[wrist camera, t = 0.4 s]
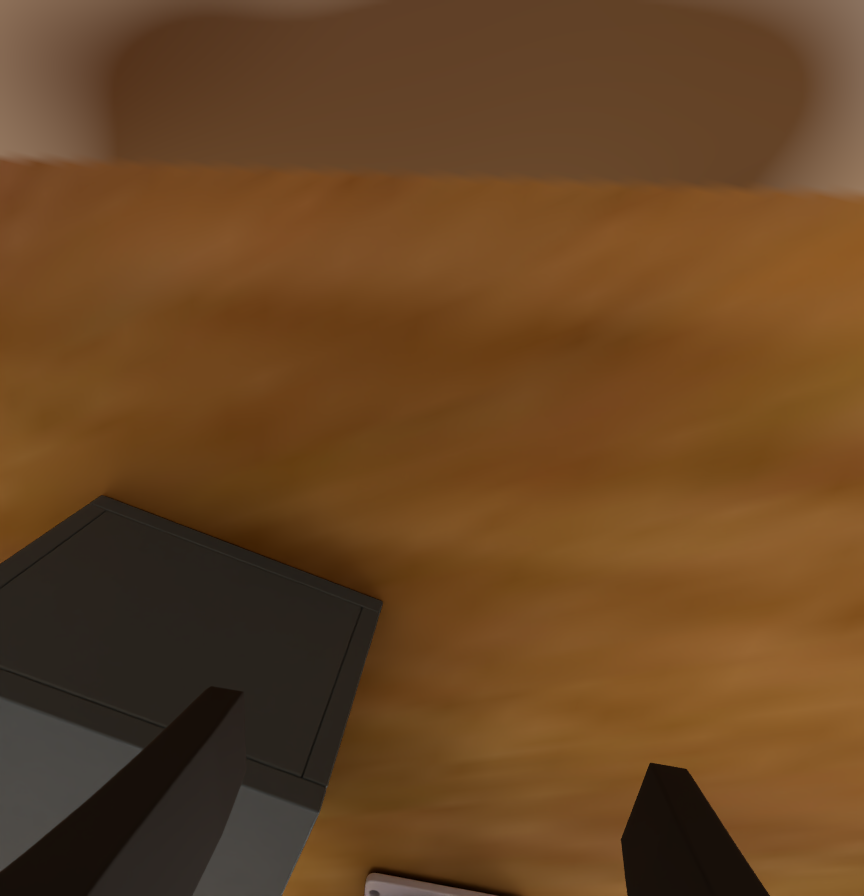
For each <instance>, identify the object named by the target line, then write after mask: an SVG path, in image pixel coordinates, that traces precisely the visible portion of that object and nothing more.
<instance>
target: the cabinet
mask: <svg viewBox="0 0 864 896" xmlns="http://www.w3.org/2000/svg"><path fill="white" fill-rule="evenodd" d="M382 605H383V602H382V601H380V600H377V599H375V598H372V597H369V596H367V595H364V594H362V593H359V592H356V591H354V590H351V589H348V588H346V587H343V586H340V585H338V584H335V583H333V582H330V581H327V580H325V579H322V578H319V577H317V576H314V575H311V574H309V573H306V572H304V571H301V570H298V569H296V568H293V567H290V566H288V565H285V564H282V563H280V562H277V561H275V560H272V559H269V558H267V557H264V556H261V555H259V554H256V553H254V552H251V551H248V550H246V549H243V548H240V547H238V546H235V545H232V544H230V543H227V542H225V541H222V540H219V539H217V538H214V537H211V536H209V535H206V534H203V533H201V532H198V531H196V530H193V529H190V528H188V527H185V526H182V525H180V524H177V523H174V522H172V521H169V520H167V519H164V518H161V517H159V516H156V515H153V514H151V513H148V512H145V511H143V510H140V509H138V508H135V507H132V506H130V505H127V504H124V503H122V502H119V501H116V500H114V499H111V498H109V497H106V496H103V495H101V496H99V497H98V498H96V499H95V500H94V501H92V502H91V503H90V504H88V505H86V506H85V507H83V508H82V509H80V510H79V511H77V512H76V513H74V514H73V515H71V516H70V517H69V518H67V519H66V520H64V521H63V522H61V523H60V524H58V525H57V526H55V527H54V528H52V529H51V530H49V531H48V532H46V533H45V534H44V535H42V536H41V537H39V538H38V539H36V540H35V541H33V542H32V543H30V544H29V545H27V546H26V547H24V548H23V549H22V550H20V551H19V552H17V553H16V554H14V555H13V556H11V557H10V558H8V559H7V560H5V561H4V562H2V563H1V564H0V872H1V871H2V870H3V869H4V868H6V867H7V866H8V865H9V864H11V863H12V862H13V861H14V860H16V859H17V858H18V857H19V856H21V855H22V854H23V853H24V852H26V851H27V850H28V849H29V848H31V847H32V846H33V845H34V844H35V843H37V842H38V841H39V840H40V839H41V838H42V837H44V836H45V835H46V834H47V833H48V832H50V831H51V830H52V829H53V828H54V827H56V826H57V825H58V824H59V823H60V822H62V821H63V820H64V819H65V818H66V817H68V816H69V815H70V814H71V813H72V812H74V811H75V810H76V809H77V808H78V807H79V806H81V805H82V804H83V803H84V802H85V801H86V800H88V799H89V798H90V797H91V796H92V795H93V794H94V793H96V792H97V791H98V790H99V789H100V788H101V787H102V786H103V785H104V784H106V783H107V782H108V781H109V780H110V779H111V778H112V777H113V776H114V775H116V774H117V773H118V772H119V771H120V770H121V769H122V768H123V767H124V766H126V765H127V764H128V763H129V762H130V761H131V760H132V759H133V758H134V757H136V756H137V755H138V754H139V753H140V752H141V751H142V750H143V749H144V748H145V747H146V746H147V745H148V744H149V743H151V742H152V741H153V740H154V739H155V738H156V737H157V736H158V735H159V734H160V733H161V732H162V731H163V730H164V729H165V728H166V727H167V726H169V725H170V724H171V723H172V722H173V721H174V720H175V719H176V718H177V717H178V716H179V715H180V714H181V713H182V712H183V711H184V710H185V709H186V708H187V707H188V706H189V705H190V704H191V703H192V702H193V701H194V700H195V699H196V698H197V697H198V696H199V695H200V694H202V693H203V692H204V691H205V690H206V689H207V688H209V687H210V686H214V687H220V688H226V689H231V690H237V691H243V692H244V714H245V743H246V773H245V776H244V779H243V781H242V784H241V787H240V789H239V792H238V795H237V798H236V800H235V803H234V806H233V808H232V811H231V813H230V816H229V818H228V821H227V824H226V826H225V829H224V831H223V834H222V836H221V838H220V840H219V842H218V844H217V847H216V849H215V851H214V853H213V855H212V857H211V859H210V861H209V863H208V865H207V867H206V869H205V871H204V873H203V875H202V877H201V879H200V881H199V883H198V886H197V888H196V890H195V892H194V894H193V896H282V894H283V891H284V889H285V887H286V885H287V883H288V881H289V878H290V876H291V874H292V872H293V870H294V867H295V865H296V863H297V861H298V859H299V857H300V854H301V852H302V850H303V848H304V846H305V843H306V841H307V839H308V837H309V835H310V832H311V830H312V828H313V826H314V824H315V822H316V819H317V817H318V815H319V813H320V810H321V806H322V803H323V800H324V796H325V793H326V789H327V786H328V783H329V780H330V777H331V773H332V770H333V767H334V763H335V760H336V757H337V754H338V750H339V747H340V744H341V740H342V737H343V734H344V730H345V727H346V724H347V720H348V717H349V714H350V711H351V707H352V704H353V701H354V697H355V694H356V691H357V687H358V684H359V681H360V677H361V674H362V671H363V668H364V664H365V661H366V658H367V654H368V651H369V648H370V644H371V641H372V638H373V634H374V631H375V628H376V625H377V621H378V618H379V614H380V611H381V608H382Z"/></svg>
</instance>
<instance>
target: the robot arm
mask: <svg viewBox="0 0 864 896" xmlns="http://www.w3.org/2000/svg"><path fill="white" fill-rule="evenodd" d="M245 773H246V743H245V714H244V692H243V691H237V690H231V689H226V688H220V687H214V686H210V687H209V688H207V689H206V690H205V691H204V692H203V693H202V694H200V695H199V696H198V697H197V698H196V699H195V700H194V701H193V702H192V703H191V704H190V705H189V706H188V707H187V708H186V709H185V710H184V711H183V712H182V713H181V714H180V715H179V716H178V717H177V718H176V719H175V720H174V721H173V722H172V723H171V724H170V725H169V726H167V727H166V728H165V729H164V730H163V731H162V732H161V733H160V734H159V735H158V736H157V737H156V738H155V739H154V740H153V741H152V742H151V743H149V744H148V745H147V746H146V747H145V748H144V749H143V750H142V751H141V752H140V753H139V754H138V755H137V756H136V757H134V758H133V759H132V760H131V761H130V762H129V763H128V764H127V765H126V766H124V767H123V768H122V769H121V770H120V771H119V772H118V773H117V774H116V775H114V776H113V777H112V778H111V779H110V780H109V781H108V782H107V783H106V784H104V785H103V786H102V787H101V788H100V789H99V790H98V791H97V792H96V793H94V794H93V795H92V796H91V797H90V798H89V799H88V800H86V801H85V802H84V803H83V804H82V805H81V806H79V807H78V808H77V809H76V810H75V811H74V812H72V813H71V814H70V815H69V816H68V817H66V818H65V819H64V820H63V821H62V822H60V823H59V824H58V825H57V826H56V827H54V828H53V829H52V830H51V831H50V832H48V833H47V834H46V835H45V836H44V837H42V838H41V839H40V840H39V841H38V842H37V843H35V844H34V845H33V846H32V847H31V848H29V849H28V850H27V851H26V852H24V853H23V854H22V855H21V856H19V857H18V858H17V859H16V860H14V861H13V862H12V863H11V864H9V865H8V866H7V867H6V868H4V869H3V870H2V871H1V872H0V896H193V894H194V892H195V890H196V888H197V886H198V883H199V881H200V879H201V877H202V875H203V873H204V871H205V869H206V867H207V865H208V863H209V861H210V859H211V857H212V855H213V853H214V851H215V849H216V847H217V844H218V842H219V840H220V838H221V836H222V834H223V831H224V829H225V826H226V824H227V821H228V818H229V816H230V813H231V811H232V808H233V806H234V803H235V800H236V798H237V795H238V792H239V789H240V787H241V784H242V781H243V779H244V776H245ZM621 843H622V852H623V861H624V870H625V879H626V887H627V895H628V896H770V895H769V894H768V892H767V891H766V889H765V888H764V886H763V885H762V883H761V882H760V880H759V879H758V877H757V876H756V874H755V873H754V871H753V870H752V868H751V867H750V865H749V864H748V862H747V861H746V859H745V858H744V856H743V855H742V853H741V852H740V850H739V849H738V847H737V846H736V844H735V843H734V841H733V840H732V838H731V836H730V835H729V833H728V832H727V830H726V829H725V827H724V826H723V824H722V823H721V821H720V820H719V818H718V816H717V815H716V813H715V812H714V810H713V809H712V807H711V806H710V804H709V802H708V801H707V799H706V798H705V796H704V795H703V793H702V792H701V790H700V788H699V787H698V785H697V784H696V782H695V781H694V779H693V778H692V776H691V775H690V773H689V772H688V771H687V769H684V768H678V767H672V766H666V765H661V764H655V763H650V764H649V767H648V769H647V772H646V775H645V777H644V780H643V783H642V785H641V788H640V791H639V793H638V796H637V799H636V801H635V804H634V806H633V809H632V812H631V814H630V817H629V820H628V822H627V825H626V828H625V830H624V833H623V836H622V838H621ZM364 896H498V895H492V894H487V893H481V892H476V891H471V890H465V889H460V888H455V887H449V886H444V885H439V884H433V883H428V882H422V881H417V880H412V879H406V878H401V877H396V876H390V875H385V874H380V873H371V874H369V875H368V876H367V878H366V883H365V894H364Z"/></svg>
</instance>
